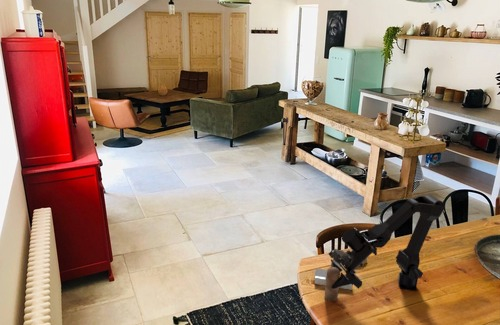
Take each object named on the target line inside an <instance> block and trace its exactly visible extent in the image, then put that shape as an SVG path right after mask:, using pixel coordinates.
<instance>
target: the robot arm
mask: <svg viewBox="0 0 500 325" xmlns="http://www.w3.org/2000/svg"><path fill="white" fill-rule="evenodd" d="M445 208H446V206H445V203H444V202H443V201H442V200H440V199H438V198H437V197H436V196H434V195H432V194H426V195H418V196H416V197H412V198H411V197H410V198H407V199H406V201H405V203H404V204H403V205H401V206H400V207H399V208H398V209H397V210H396V211H395V212H394V213H392V214H391V215H390V216H389V217H388V218H387V219H386V220H384V221H383V222H381V223H377V224H375V225H373V226H371V227H370V228H369V229H365V230H361V231H359V230H358V229H357V228H356V227H354V228H353V229H347V230H345V231H344V232H343V234H342V236H341V240H342V243H344V244H345V245H346V246H348V248H350V249H348V250H346V252H345V251H343V250H340V249H337V248H335V249H333V250H330V251H329V252H328V255H329V257H330V262H331V263H330V264H331V266H330V267H336V268H338V269H339V271H340V278H339V279H338V280H337V281H336V282H335V283H334V284H333V285H332V287H331V288H332V289H335V288H338V287H341V286H345V285H349V284H352V285H353V286H354V287H355V288H357V289H359V288H361V287H362V286H363V281H362V280H361V279H360V277H359V276H358V275H357V274H356V273H357V272H356V270H357V268H358V267H363V266H364V264H363V263H362V262H363V261H364V260H365V259H366V258H367V259H368V258H369V257H370V256H371V255H372V254H373V255H374V256H377V254H378V251H377V249H380V248H383V247H385V246H386V245H387V244H388V242H389V241H390V240H391V237H392V236H393V233H394V232H395V231H396V230H398V228H400V227H401V226H402V225H403V224H404V223H406V222H407V221H408V220H409V219H410V218H411V217H412V216H414V215H415V214H416V213H419V218H418V220H417V222H416V224H415V227H414V229H413V232H412V234H411V236H410V239H409V240H408V243H407V246H406V247H405V248H404V249H399V250H398V252H397V255H396V256H395V263H396V264H397V266H398V268H399V269H400V271H399V272H398V278H397V282H398V285H399V289H402V290H408V291H415V292H417V291H418V288H417V285H418V280H419V279H421V278H422V277H423V275H424V272H423V271H422V270H421V269H420V268H419V266H420V263H421V261H420V252H421V250H422V248H423V245H424V243H425V240H426V238H427V236H428V234H429V232H430V229H431V226H432V225H433V223H434V221H435V220H437V219H439V218H440V217H441V215H442V213H443V212H444V210H445ZM359 265H361V266H359ZM343 271H344V272H345V273H343ZM325 279H326V278H325Z"/></svg>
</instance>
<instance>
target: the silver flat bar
mask: <svg viewBox="0 0 500 325" xmlns="http://www.w3.org/2000/svg"><path fill="white" fill-rule="evenodd" d="M314 277H315V279H314V285H321V286H326V279H325V278H324V277H317V276H315V275H314ZM353 286H354V285H352V284H349V285H345V286H341V287H339V289H345V290H351V291H353Z"/></svg>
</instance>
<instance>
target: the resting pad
mask: <svg viewBox="0 0 500 325" xmlns="http://www.w3.org/2000/svg"><path fill="white" fill-rule="evenodd" d="M327 270H328V269H322V268H315V271H314V277H313V279H314V280H315V276H317V277H324V278H326V275H327Z"/></svg>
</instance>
